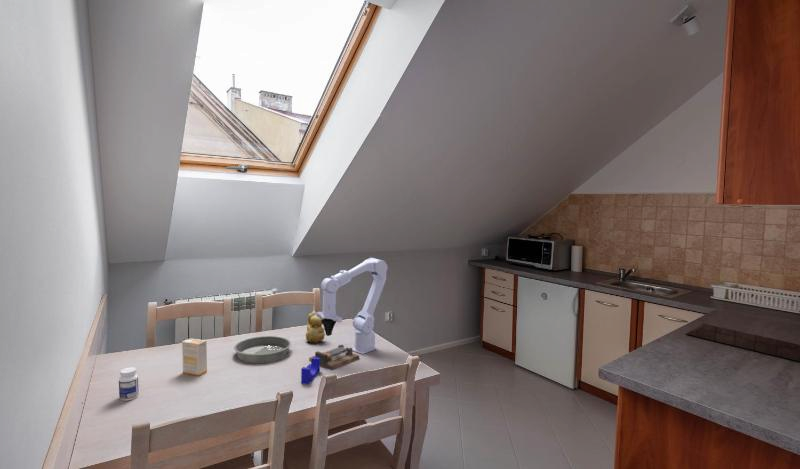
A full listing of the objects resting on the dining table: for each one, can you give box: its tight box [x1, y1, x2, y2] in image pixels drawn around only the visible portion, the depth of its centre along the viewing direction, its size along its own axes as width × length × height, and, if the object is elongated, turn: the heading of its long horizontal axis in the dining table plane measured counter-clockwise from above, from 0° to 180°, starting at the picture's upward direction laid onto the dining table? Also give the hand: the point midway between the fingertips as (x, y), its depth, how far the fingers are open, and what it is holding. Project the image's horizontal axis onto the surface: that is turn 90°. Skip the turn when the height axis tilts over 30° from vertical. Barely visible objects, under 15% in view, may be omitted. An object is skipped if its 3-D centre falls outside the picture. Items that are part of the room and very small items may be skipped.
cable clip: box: [300, 356, 321, 385], centre depth 169 cm, size 12×4×6 cm, turn 170°
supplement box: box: [181, 337, 208, 377], centre depth 169 cm, size 8×5×13 cm, turn 71°
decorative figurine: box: [305, 310, 326, 344], centre depth 209 cm, size 10×8×15 cm
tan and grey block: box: [322, 345, 349, 359], centre depth 187 cm, size 14×4×1 cm, turn 142°
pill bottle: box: [118, 366, 140, 402], centre depth 147 cm, size 6×6×10 cm
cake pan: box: [233, 335, 292, 364], centre depth 192 cm, size 25×25×4 cm
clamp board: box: [308, 344, 360, 370], centre depth 187 cm, size 17×14×5 cm
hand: (328, 335), depth 189 cm, fingers closed
